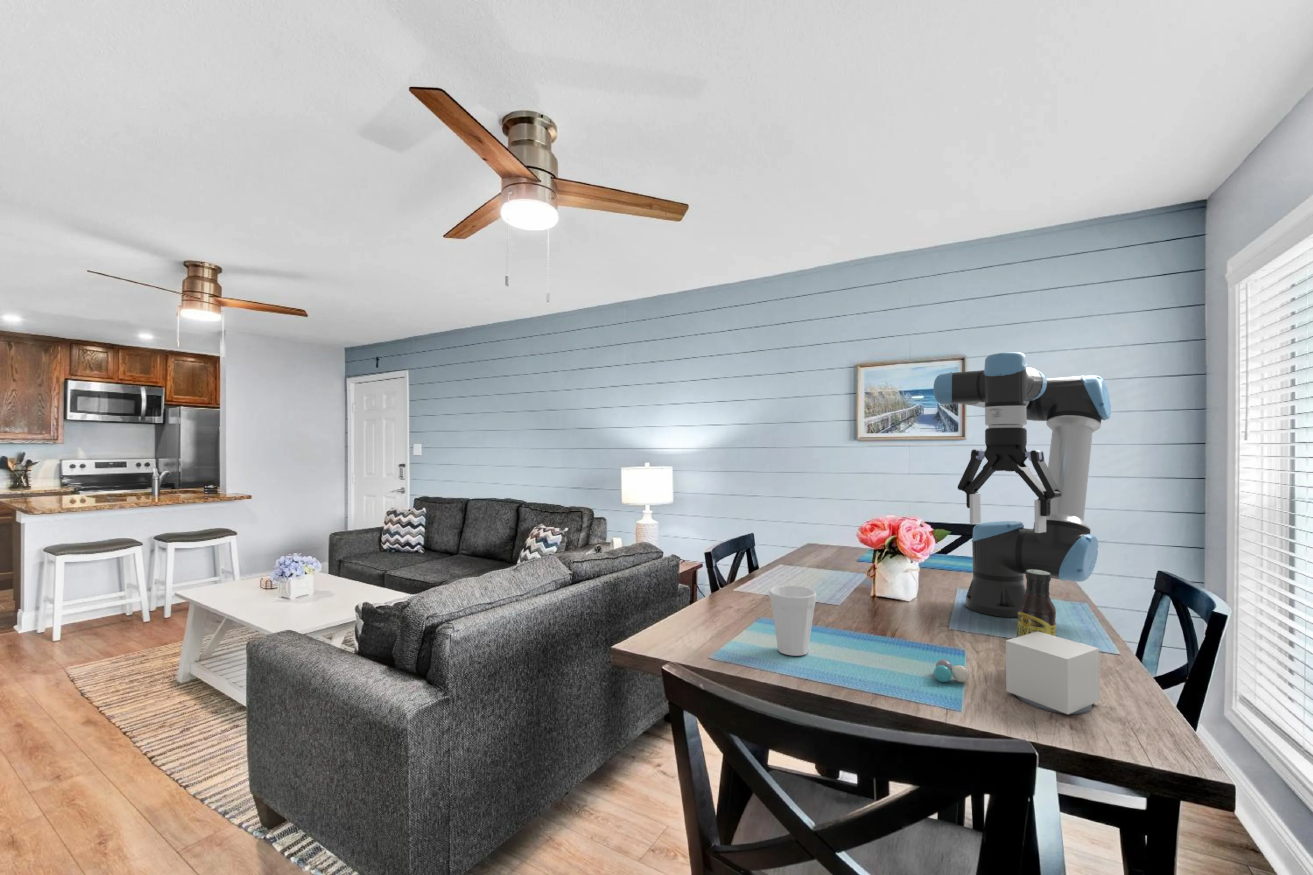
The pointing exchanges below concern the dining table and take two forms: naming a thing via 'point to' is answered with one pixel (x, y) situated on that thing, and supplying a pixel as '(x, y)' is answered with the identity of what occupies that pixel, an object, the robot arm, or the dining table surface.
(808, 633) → the cup
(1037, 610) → the sauce bottle
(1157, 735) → the dining table surface
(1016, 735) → the dining table surface
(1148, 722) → the dining table surface
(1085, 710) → the dark grey disc
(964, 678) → the cream marble
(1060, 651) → the white block
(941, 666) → the teal marble
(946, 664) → the smoky marble
